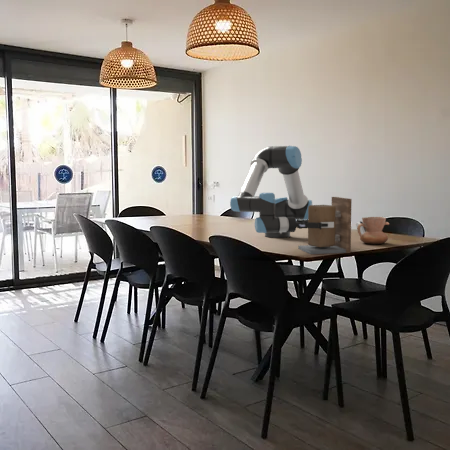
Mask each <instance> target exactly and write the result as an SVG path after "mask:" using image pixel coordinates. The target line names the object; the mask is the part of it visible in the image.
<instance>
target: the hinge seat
mask: <svg viewBox="0 0 450 450" xmlns="http://www.w3.org/2000/svg"><path fill="white" fill-rule="evenodd" d="M297 248H298V250H301V251H303V252H305V253H307V254H309V255H318V254H319V255H320V254H321V255H323V254H344V253H345V254H347V253H346V249H343V248H340V247H337V246H335V245H334V246H330V247H316V246H311V245H308V244H307V245H304V244H303V245H298V247H297Z"/></svg>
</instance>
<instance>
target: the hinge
mask: <svg viewBox="0 0 450 450" xmlns="http://www.w3.org/2000/svg"><path fill="white" fill-rule="evenodd" d="M361 223H362V224H363V221H362V220H360V221H357V222H355V227H356V228H357V227H358V225H359V224H361ZM360 232H361V234H363V233H365V232H366V229H365V227H363V226H361V227H360Z"/></svg>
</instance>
